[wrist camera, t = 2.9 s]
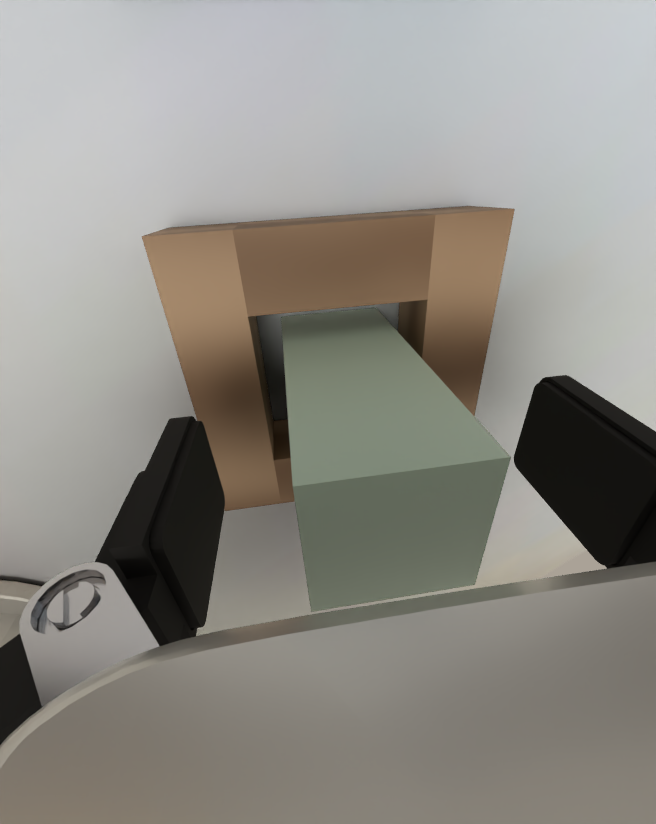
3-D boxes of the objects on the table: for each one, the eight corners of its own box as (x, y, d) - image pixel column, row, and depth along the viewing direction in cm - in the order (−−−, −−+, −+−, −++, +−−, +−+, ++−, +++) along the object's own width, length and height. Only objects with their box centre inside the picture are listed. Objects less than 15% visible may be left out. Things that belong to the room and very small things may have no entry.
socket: (437, 440, 19) (462, 478, 17) (231, 467, 18) (224, 510, 16) (468, 206, 13) (514, 208, 11) (168, 227, 12) (141, 236, 10)
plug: (374, 390, 17) (474, 584, 9) (291, 400, 17) (311, 611, 8) (375, 307, 15) (510, 456, 6) (280, 316, 15) (292, 486, 6)
